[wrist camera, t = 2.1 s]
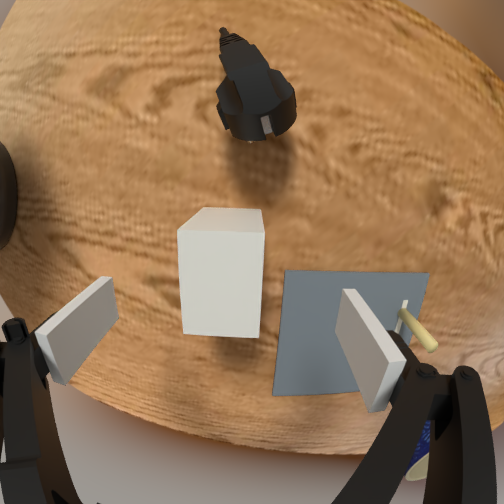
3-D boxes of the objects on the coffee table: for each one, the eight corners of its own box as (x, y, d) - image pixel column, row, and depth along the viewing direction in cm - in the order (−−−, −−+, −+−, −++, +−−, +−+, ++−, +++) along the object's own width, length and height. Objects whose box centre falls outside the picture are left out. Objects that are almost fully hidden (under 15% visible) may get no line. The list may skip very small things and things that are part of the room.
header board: (272, 393, 31) (275, 441, 24) (285, 269, 26) (296, 307, 19) (391, 384, 31) (411, 423, 24) (427, 272, 26) (467, 302, 19)
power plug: (250, 14, 18) (303, 73, 14) (265, 74, 25) (310, 150, 21) (190, 33, 19) (210, 101, 14) (214, 90, 26) (241, 172, 21)
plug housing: (204, 281, 27) (183, 333, 18) (203, 207, 24) (177, 229, 16) (257, 283, 27) (259, 338, 18) (261, 209, 25) (265, 232, 16)
